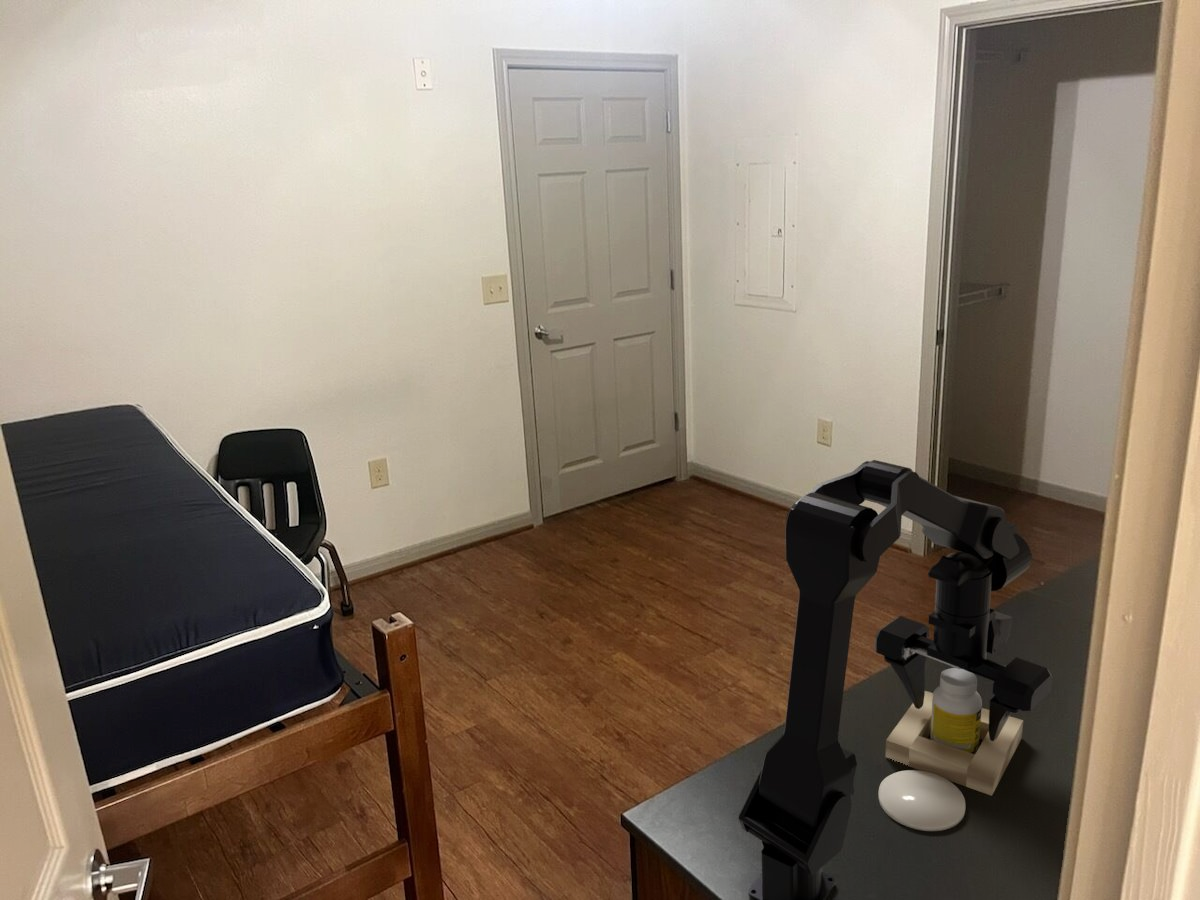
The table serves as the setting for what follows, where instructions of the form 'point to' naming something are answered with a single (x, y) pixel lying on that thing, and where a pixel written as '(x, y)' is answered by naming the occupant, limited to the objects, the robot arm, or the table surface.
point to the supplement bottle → (956, 711)
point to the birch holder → (953, 749)
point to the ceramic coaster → (922, 800)
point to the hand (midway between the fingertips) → (955, 722)
